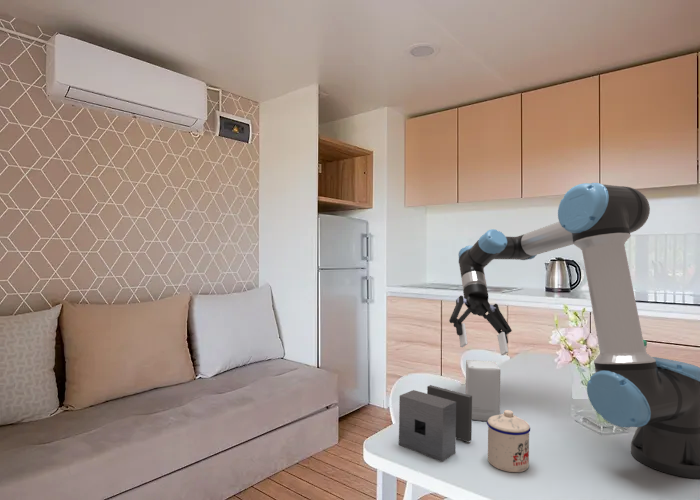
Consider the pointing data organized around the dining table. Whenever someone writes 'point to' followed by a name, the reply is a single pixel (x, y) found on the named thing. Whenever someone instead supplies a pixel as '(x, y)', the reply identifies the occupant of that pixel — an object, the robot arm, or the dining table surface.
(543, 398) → the dining table surface
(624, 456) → the dining table surface
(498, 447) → the teacup with lid
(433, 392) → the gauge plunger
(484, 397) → the supplement box
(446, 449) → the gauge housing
